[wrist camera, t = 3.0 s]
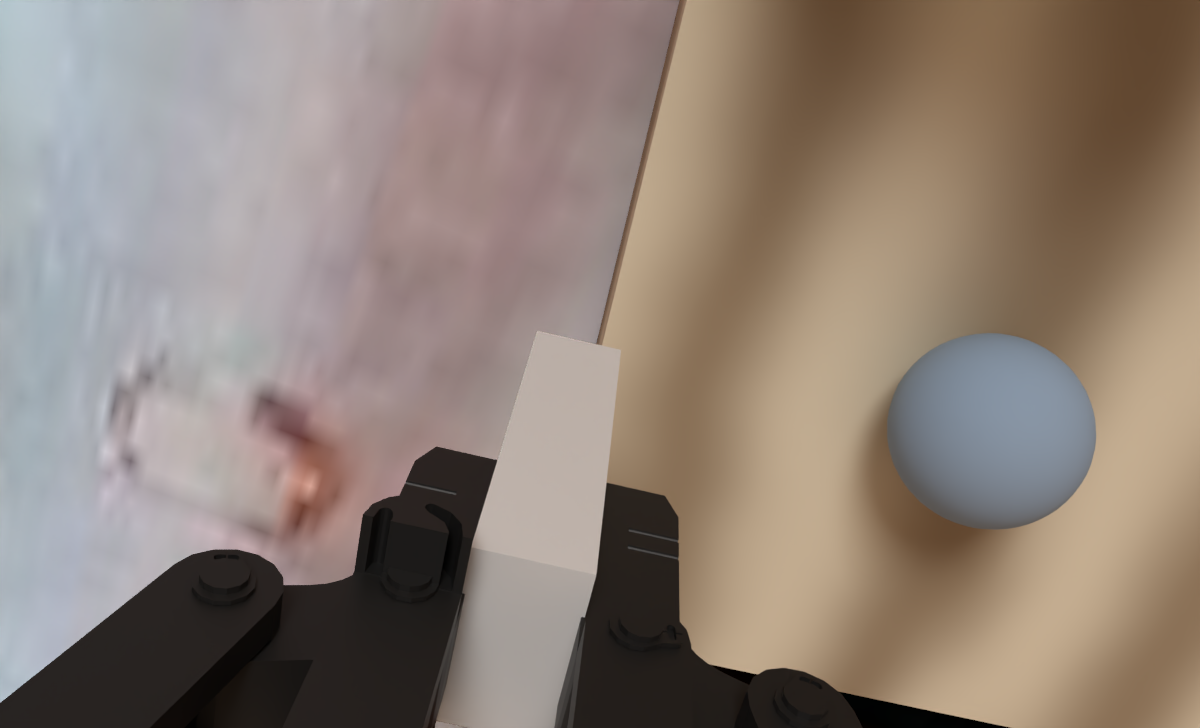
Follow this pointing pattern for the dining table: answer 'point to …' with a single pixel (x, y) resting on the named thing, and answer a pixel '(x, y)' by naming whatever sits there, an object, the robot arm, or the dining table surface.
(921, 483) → the ball
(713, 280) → the board
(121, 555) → the dining table surface
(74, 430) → the dining table surface
